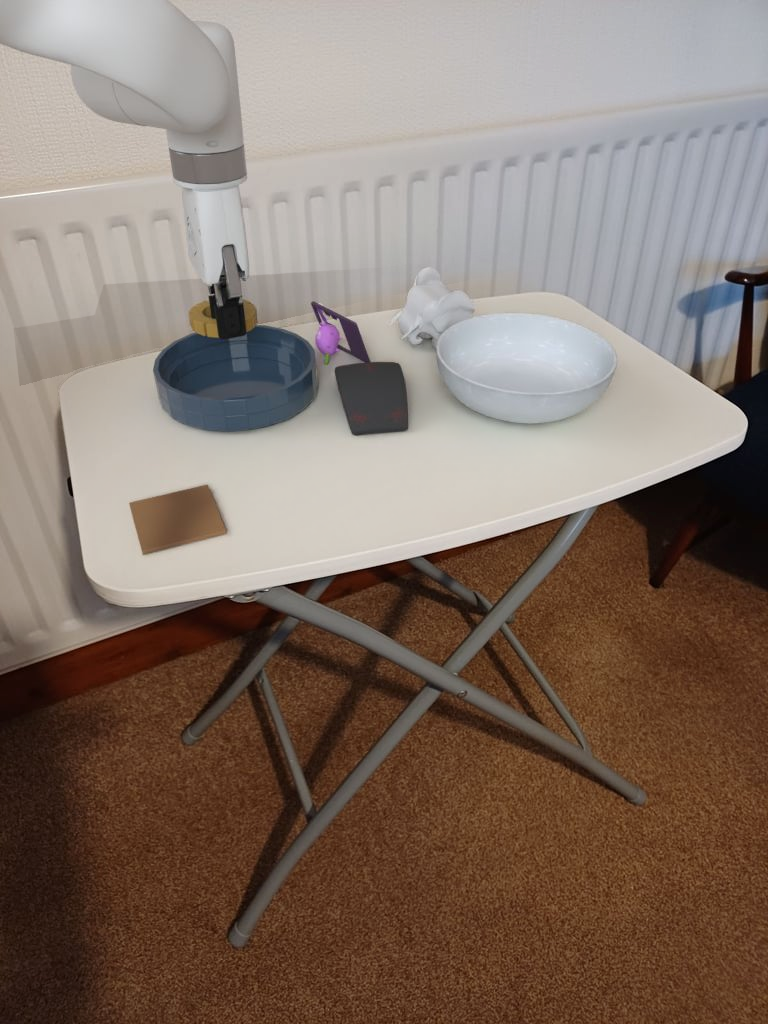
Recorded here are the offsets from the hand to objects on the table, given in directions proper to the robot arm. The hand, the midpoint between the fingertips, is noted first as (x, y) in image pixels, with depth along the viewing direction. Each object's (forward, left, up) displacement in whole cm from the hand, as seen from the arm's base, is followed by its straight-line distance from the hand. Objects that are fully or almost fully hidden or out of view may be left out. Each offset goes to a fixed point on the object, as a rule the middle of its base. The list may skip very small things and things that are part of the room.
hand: (229, 330), depth 91 cm
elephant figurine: (+28, +3, -9) cm, 30 cm away
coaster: (-12, -22, -8) cm, 26 cm away
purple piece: (+14, +4, -9) cm, 17 cm away
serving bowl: (+31, -15, -9) cm, 36 cm away
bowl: (0, 0, -8) cm, 8 cm away
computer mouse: (+14, -9, -9) cm, 19 cm away
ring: (0, +3, 0) cm, 3 cm away
